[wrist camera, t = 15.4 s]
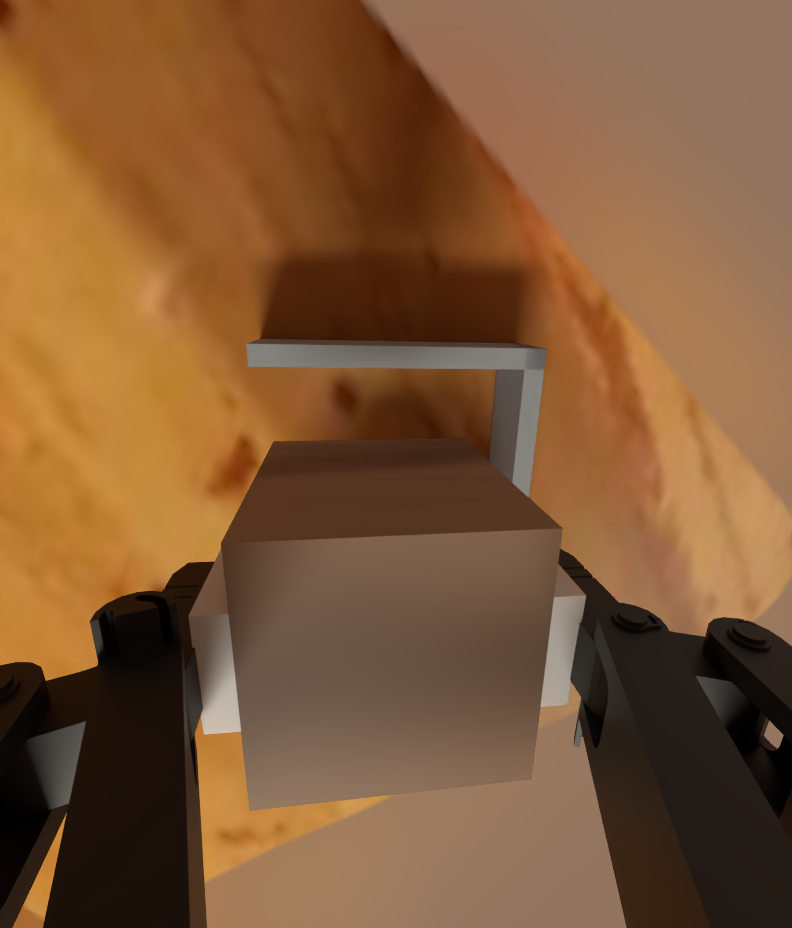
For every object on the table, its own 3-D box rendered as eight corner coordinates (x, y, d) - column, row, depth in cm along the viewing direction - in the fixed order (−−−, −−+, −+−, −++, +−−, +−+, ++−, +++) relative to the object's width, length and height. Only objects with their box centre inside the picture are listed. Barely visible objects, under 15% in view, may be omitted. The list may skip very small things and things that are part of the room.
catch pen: (260, 338, 24) (246, 343, 21) (516, 343, 26) (546, 348, 22) (284, 724, 33) (277, 778, 29) (479, 708, 34) (497, 757, 30)
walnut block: (273, 441, 14) (220, 543, 8) (463, 437, 15) (562, 528, 8) (285, 609, 16) (249, 811, 10) (454, 599, 17) (531, 779, 10)
